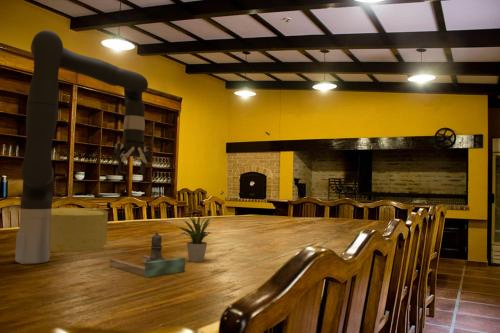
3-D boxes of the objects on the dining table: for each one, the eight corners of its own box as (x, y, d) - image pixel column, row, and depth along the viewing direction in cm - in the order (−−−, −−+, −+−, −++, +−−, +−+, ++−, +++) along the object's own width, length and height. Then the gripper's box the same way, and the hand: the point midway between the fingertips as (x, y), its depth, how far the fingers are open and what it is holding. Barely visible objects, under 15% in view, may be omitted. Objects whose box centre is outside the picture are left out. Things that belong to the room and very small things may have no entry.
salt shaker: (162, 273, 125) (164, 232, 126) (143, 272, 125) (144, 232, 126) (167, 269, 131) (168, 230, 132) (148, 269, 131) (149, 230, 132)
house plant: (194, 255, 159) (195, 211, 159) (224, 259, 151) (226, 213, 152) (168, 260, 146) (170, 213, 147) (200, 265, 139) (202, 215, 140)
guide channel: (147, 277, 119) (148, 263, 120) (109, 265, 134) (110, 253, 134) (184, 271, 129) (185, 258, 129) (145, 261, 144) (145, 249, 144)
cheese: (122, 246, 175) (123, 210, 175) (65, 254, 153) (67, 212, 153) (82, 240, 189) (83, 207, 189) (24, 247, 167) (26, 209, 167)
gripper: (121, 126, 148) (119, 172, 147) (156, 130, 158) (154, 173, 158) (111, 127, 153) (109, 172, 153) (145, 132, 164) (143, 173, 163)
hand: (132, 173), depth 155 cm, fingers open, 8 cm apart
